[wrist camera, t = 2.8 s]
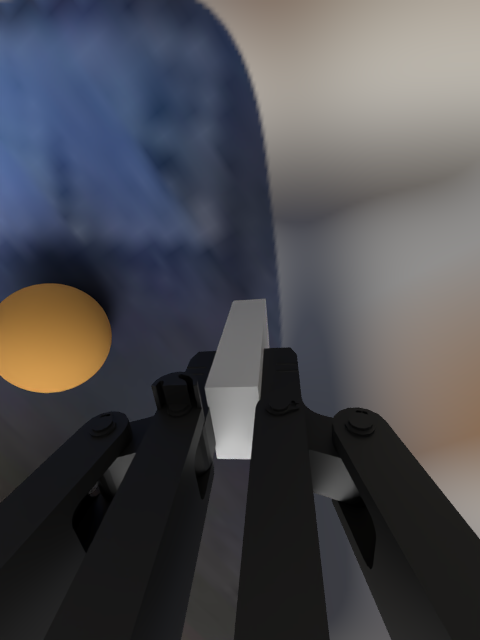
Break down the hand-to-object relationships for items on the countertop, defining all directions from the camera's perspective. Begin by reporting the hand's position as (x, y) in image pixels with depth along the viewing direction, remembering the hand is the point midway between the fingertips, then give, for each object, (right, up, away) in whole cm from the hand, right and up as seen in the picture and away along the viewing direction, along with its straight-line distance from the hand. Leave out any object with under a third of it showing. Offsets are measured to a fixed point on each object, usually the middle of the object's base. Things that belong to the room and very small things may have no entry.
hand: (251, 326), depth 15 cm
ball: (-10, -1, +1) cm, 10 cm away
